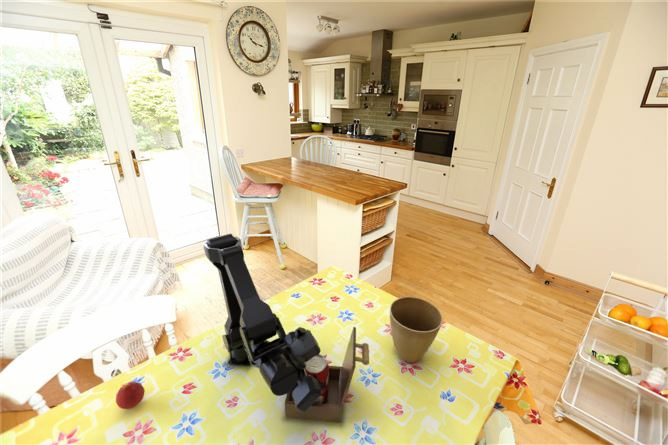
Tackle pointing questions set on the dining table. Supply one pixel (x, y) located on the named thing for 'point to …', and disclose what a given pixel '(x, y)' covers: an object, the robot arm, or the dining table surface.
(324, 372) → the soda can
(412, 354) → the plant pot
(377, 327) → the dining table surface
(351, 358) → the chest lid
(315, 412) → the chest
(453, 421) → the dining table surface
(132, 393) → the onion
